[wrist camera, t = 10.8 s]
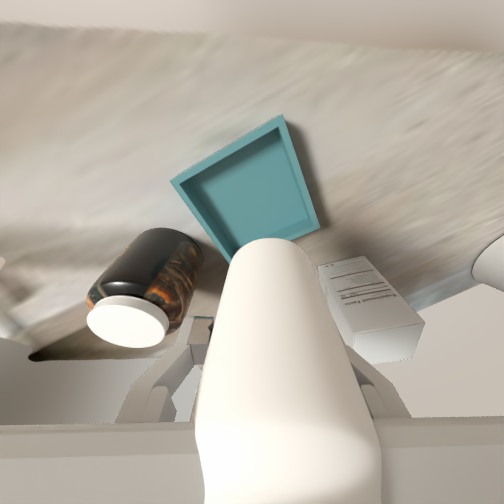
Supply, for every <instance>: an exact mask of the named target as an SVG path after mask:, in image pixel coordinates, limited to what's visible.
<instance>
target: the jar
mask: <svg viewBox="0 0 504 504" xmlns="http://www.w3.org/2000/svg"><path fill="white" fill-rule="evenodd" d="M202 263H203V257H202V253H201V251H200V249H199V247H198V246H197V244H196V243H195V242H194V241H193V240H192V239H191V238H189V237H188V236H186V235H185V234H183V233H181V232H179V231H176V230H172V229H167V228H154V229H150V230H147V231H145V232H143V233H142V234H140V235H139V236H138V237H137V238H136V239H135V240H134V241H133V242H132V243H131V244H130V245H129V246H128V247H127V248H126V249H125V250H124V251H123V252H122V253H121V255H120V256H119V257H118V258H117V259H116V260H115V261H114V262H113V263H112V264H111V265H110V266H109V267H108V268H107V269H106V271H105V272H104V273H103V274H102V275H101V276H100V277H99V278H98V280H97V281H96V282H95V283H94V284H93V286H92V287H91V289H90V290H89V292H88V294H87V299H86V304H87V307H88V310H89V311H90V313H89V314H88V317H87V323H88V326H89V327H90V329H91V330H92V331H93V332H94V333H95V334H96V335H98V336H99V337H100V338H102V339H104V340H106V341H108V342H111V343H113V344H116V345H120V346H125V347H133V348H143V347H150V346H153V345H156V344H158V343H159V342H161V341H162V340H163V338H164V336H166V335H168V334H171V333H173V332H174V331H176V330H177V329H178V328H179V327H180V326H181V324H182V323H183V320H184V318H185V316H186V314H187V311H188V308H189V305H190V302H191V299H192V296H193V293H194V290H195V287H196V284H197V280H198V277H199V274H200V271H201V267H202Z"/></svg>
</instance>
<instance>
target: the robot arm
mask: <svg viewBox="0 0 504 504" xmlns="http://www.w3.org/2000/svg"><path fill="white" fill-rule="evenodd" d="M472 275H473V277H474V279H475V280H477V281H478V282H481V283H484V284H487V285H489V286H492V287H494V288H496V289H499V290H501V291H503V292H504V235H503V236H502V237H500V238H499V239H497V240H496V241H495V242H493V243H492V244H491V245H490V246H489V247H488V248H486V249H485V250H484V251H483V252H482V254H481V255H480V256H479V257H478V259H477V260H476V262H475V264H474V266H473V270H472ZM333 320H334V319H333ZM334 322H335V321H334ZM335 325H336V323H335ZM213 327H214V317H201V316H185V318H184V320H183V323H182V326H181V329H180V333H179V336H178V339H177V342H176V345H172V346H171V347H170V348H169V349H168V350H167V351H166V352H165V353H164V354H163V355H162V356H161V357H160V358H159V359H158V360H157V361H156V362H155V363H154V364H153V365H152V366H151V367H150V368H149V369H147V370H146V372H144V373H143V374H142V375H141V376H140V377H139V378H138V379H137V380H136V381H135V382H134V383H133V384H132V385H131V387H130V390H129V392H128V394H127V396H126V398H125V400H124V403H123V405H122V407H121V410H120V412H119V414H118V416H117V418H116V421H115V423H111V424H110V423H109V424H58V425H57V424H52V425H6V426H5V425H4V426H0V504H204V500H205V485H204V477H203V471H202V466H201V461H200V455H199V451H198V447H197V443H196V437H195V424H194V422H174V420H175V416H176V409H175V406H174V404H173V401H172V399H171V397H172V395H173V394H174V392H175V391H176V390H177V388H178V387H179V386H180V384H181V383H182V382H183V380H184V379H185V377H186V376H187V375H188V373H189V372H190V371H191V369H192V368H193V366H194V365H197V364H204V362H205V358H206V354H207V350H208V346H209V342H210V339H211V335H212V331H213ZM336 327H337V325H336ZM337 330H338V327H337ZM338 332H339V330H338ZM339 335H340V338H341V340H342V343H343V345H344V348H345V350H346V353H347V356H348V358H349V361H350V363H351V366H352V369H353V371H354V374H355V376H356V379H357V382H358V384H359V387H360V389H361V392H362V395H363V397H364V400H365V403H366V405H367V408H368V410H369V413H370V416H371V418H372V421H373V425H374V427H375V430H376V433H377V436H378V440H379V443H380V447H381V455H382V476H381V504H504V416H489V417H488V416H486V417H436V418H435V417H433V418H412V417H411V415H410V414H409V412H408V410H407V408H406V407H405V405H404V403H403V401H402V400H401V398H400V396H399V394H398V393H397V391H396V389H395V387H394V386H393V384H392V383H391V382H390V381H389V380H387V379H386V378H385V377H384V376H383V375H382V374H381V373H380V372H378V371H377V370H376V369H375V368H374V367H373V366H371V365H370V364H369V363H368V362H367V361H366V360H365V359H364V358H362V357H361V356H360V355H359V354H358V353H357V352H356V351H354V350H353V349H352V348H351V347H350V346H349V345H345V342H344V340H343V338H342V336H341V334H340V332H339Z"/></svg>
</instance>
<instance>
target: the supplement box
mask: <svg viewBox="0 0 504 504" xmlns="http://www.w3.org/2000/svg"><path fill="white" fill-rule="evenodd" d="M318 271H319V281H320V286H321V289H322V291H323V294H324V296H325V299H326V302H327V304H328V307H329V309H330V312H331V314H332V317H333V319H334V321H335V323H336V325H337V327H338V330H339V332H340V334H341V336H342V338H343V340H344V342H345V345H349V346H350V347H351V348H352V349H353V350H354V351H356V352H357V353H358V354H359V355H360V356H361V357H362V358H364V359H365V360H366V361H367V362H368V363H369V364H376V363H382V362H390V361H398V360H405V359H409V358H413V355H414V352H415V349H416V346H417V343H418V341H419V338H420V335H421V333H422V330H423V327H424V325H425V322H424V320H423V319H422V318H421V317H420V316H419V315H418V314H417V313H416V312H415V311H414V310H413V309H412V307H411V306H410V305H409V304H408V303H407V302H406V301H405V300H404V299H403V298H402V297H401V296H400V294H399V293H398V292H397V291H396V290H395V289H394V288H393V287H392V286H391V285H390V283H389V282H388V281H387V280H386V279H385V278H384V277H383V276H382V275H381V274H380V273H379V271H378V270H377V269H376V268H375V267H374V266H373V265H372V264H371V263H370V262H369V261H368V259H367V258H366V257H365V256H360V257H355V258H351V259H346V260H342V261H338V262H333V263H329V264H325V265H320V266H318Z"/></svg>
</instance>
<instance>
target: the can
mask: <svg viewBox="0 0 504 504" xmlns="http://www.w3.org/2000/svg"><path fill="white" fill-rule="evenodd" d="M190 422H194V424H195V437H196V443H197V447H198V451H199V455H200V461H201V466H202V471H203V477H204V485H205V500H204V504H381V476H382V455H381V447H380V443H379V440H378V436H377V433H376V430H375V427H374V425H373V421H372V418H371V416H370V413H369V410H368V408H367V405H366V403H365V400H364V397H363V395H362V392H361V389H360V387H359V384H358V382H357V379H356V376H355V374H354V371H353V369H352V366H351V363H350V361H349V358H348V356H347V353H346V350H345V348H344V345H343V343H342V340H341V338H340V335H339V332H338V330H337V327H336V325H335V322H334V320H333V317H332V314H331V312H330V309H329V307H328V304H327V302H326V299H325V296H324V294H323V291H322V289H321V286H320V284H319V281H318V279H317V276H316V274H315V271H314V269H313V266H312V264H311V262H310V259H309V257H308V256H307V254H306V253H305V252H304V251H303V250H302V249H301V248H300V247H299V246H298V245H296V244H295V243H293V242H291V241H288V240H284V239H279V238H263V239H258V240H255V241H252V242H250V243H248V244H246V245H244V246H243V247H242V248H240V249H239V250H238V251H237V253H236V254H235V255H234V257H233V258H232V261H231V263H230V266H229V270H228V273H227V277H226V281H225V285H224V288H223V292H222V296H221V300H220V304H219V307H218V311H217V315H216V319H215V323H214V327H213V331H212V335H211V339H210V342H209V346H208V350H207V354H206V358H205V362H204V366H203V370H202V374H201V378H200V382H199V386H198V390H197V394H196V398H195V402H194V406H193V410H192V414H191V418H190Z"/></svg>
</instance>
